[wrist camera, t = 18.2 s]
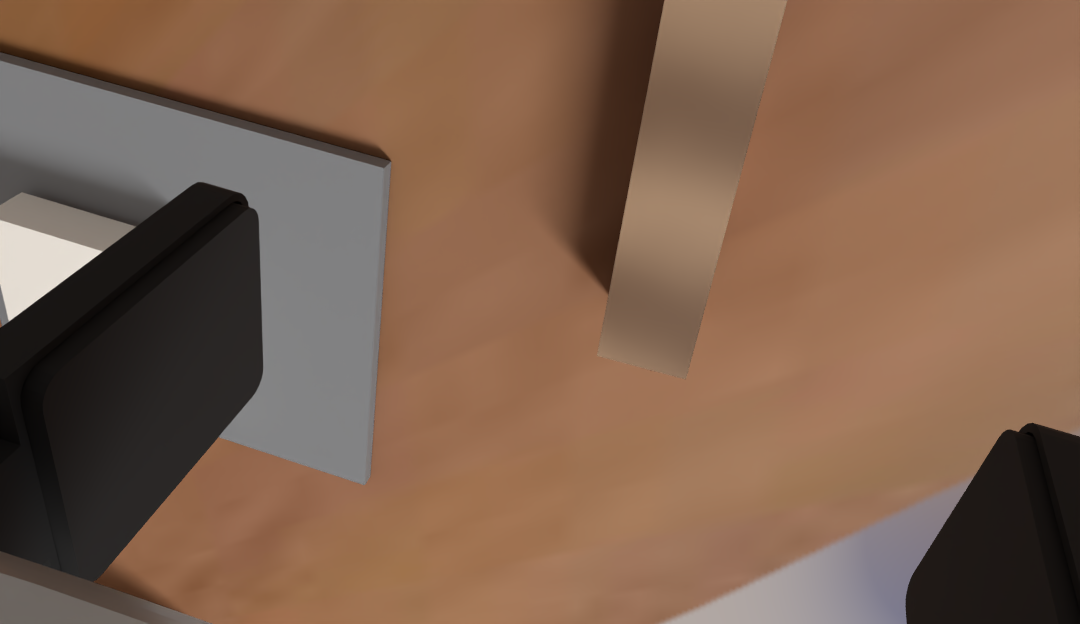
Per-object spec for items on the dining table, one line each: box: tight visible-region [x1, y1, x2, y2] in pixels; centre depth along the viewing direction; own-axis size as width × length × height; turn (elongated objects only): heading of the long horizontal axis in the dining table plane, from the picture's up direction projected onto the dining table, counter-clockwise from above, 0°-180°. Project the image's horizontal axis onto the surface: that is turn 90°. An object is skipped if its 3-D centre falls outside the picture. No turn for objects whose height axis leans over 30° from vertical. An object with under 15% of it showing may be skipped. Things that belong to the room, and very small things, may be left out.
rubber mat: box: [0, 52, 391, 485], centre depth 38 cm, size 16×18×1 cm
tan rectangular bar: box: [597, 0, 787, 379], centre depth 26 cm, size 18×3×4 cm, turn 173°
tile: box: [0, 192, 136, 321], centre depth 38 cm, size 2×8×10 cm
